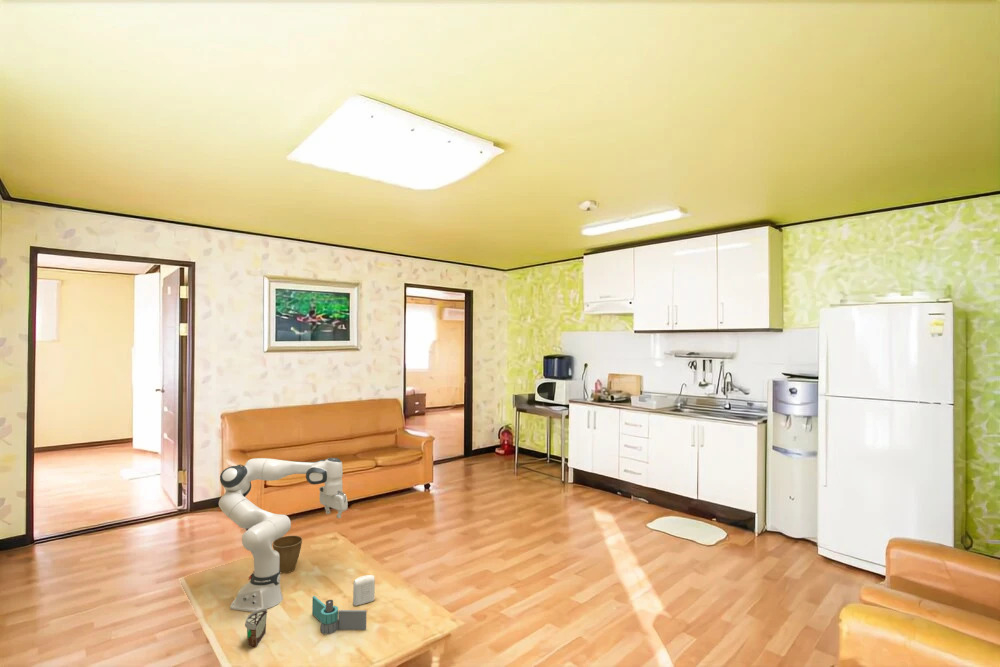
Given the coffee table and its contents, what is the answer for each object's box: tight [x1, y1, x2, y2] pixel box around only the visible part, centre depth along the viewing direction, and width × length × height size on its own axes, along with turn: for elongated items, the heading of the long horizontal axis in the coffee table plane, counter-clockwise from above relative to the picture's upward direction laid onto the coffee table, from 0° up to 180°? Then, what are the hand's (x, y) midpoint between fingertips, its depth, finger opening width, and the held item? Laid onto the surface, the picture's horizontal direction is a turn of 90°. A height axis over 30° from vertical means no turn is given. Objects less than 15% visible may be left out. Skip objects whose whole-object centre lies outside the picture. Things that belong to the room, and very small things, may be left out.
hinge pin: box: [325, 599, 334, 613], centre depth 210 cm, size 3×3×12 cm
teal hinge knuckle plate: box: [311, 595, 339, 624], centre depth 214 cm, size 20×7×8 cm, turn 45°
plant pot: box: [272, 535, 303, 574], centre depth 263 cm, size 15×15×16 cm
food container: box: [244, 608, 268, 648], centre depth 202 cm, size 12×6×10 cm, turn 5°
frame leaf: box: [320, 609, 367, 635], centre depth 210 cm, size 20×7×8 cm, turn 90°
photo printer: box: [352, 574, 376, 607], centre depth 232 cm, size 10×4×12 cm, turn 123°
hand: (333, 515), depth 252 cm, fingers open, 8 cm apart
